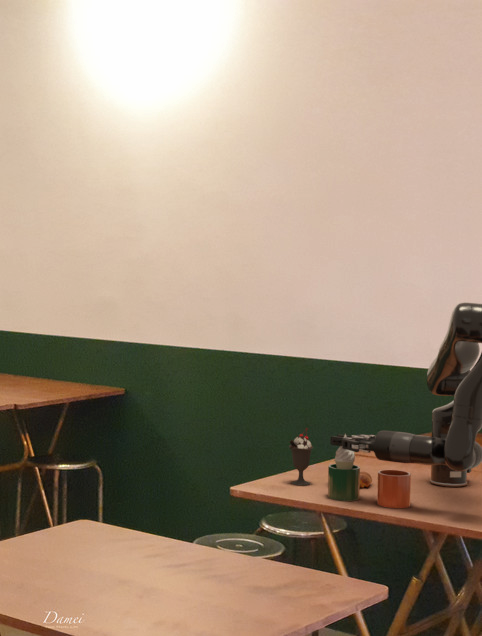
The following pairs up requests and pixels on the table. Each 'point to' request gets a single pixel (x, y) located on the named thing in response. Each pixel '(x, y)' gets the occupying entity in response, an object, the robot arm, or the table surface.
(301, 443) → the sundae
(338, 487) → the stand
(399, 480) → the cup
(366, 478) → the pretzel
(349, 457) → the ice cream cone
